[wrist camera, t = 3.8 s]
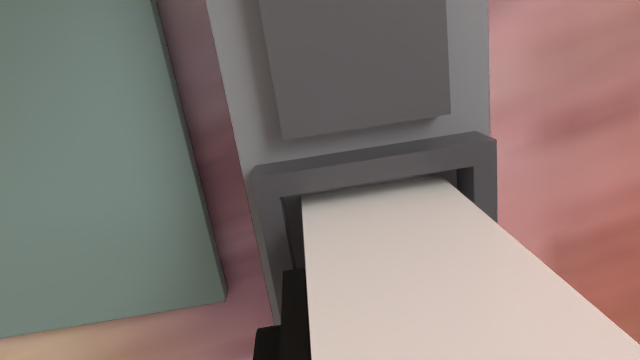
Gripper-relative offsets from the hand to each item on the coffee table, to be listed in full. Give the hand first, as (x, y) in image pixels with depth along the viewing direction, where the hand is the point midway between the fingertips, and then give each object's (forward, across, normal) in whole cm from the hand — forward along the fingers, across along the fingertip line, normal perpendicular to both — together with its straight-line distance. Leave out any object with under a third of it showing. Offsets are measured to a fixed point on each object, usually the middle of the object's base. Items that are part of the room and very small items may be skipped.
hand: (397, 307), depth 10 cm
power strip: (+5, 0, -4) cm, 6 cm away
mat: (+5, +10, -4) cm, 12 cm away
